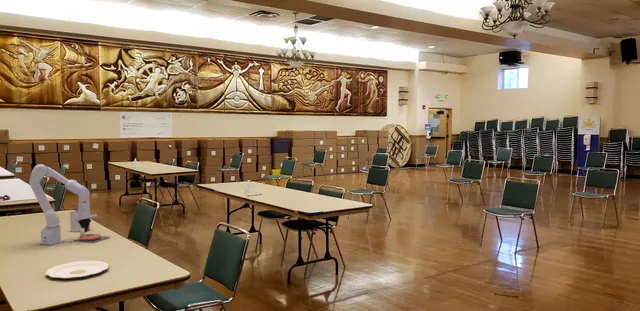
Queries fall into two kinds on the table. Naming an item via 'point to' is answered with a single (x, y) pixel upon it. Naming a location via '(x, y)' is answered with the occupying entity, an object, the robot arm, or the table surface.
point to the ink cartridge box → (75, 225)
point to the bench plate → (93, 240)
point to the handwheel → (88, 235)
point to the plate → (65, 269)
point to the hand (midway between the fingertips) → (84, 232)
